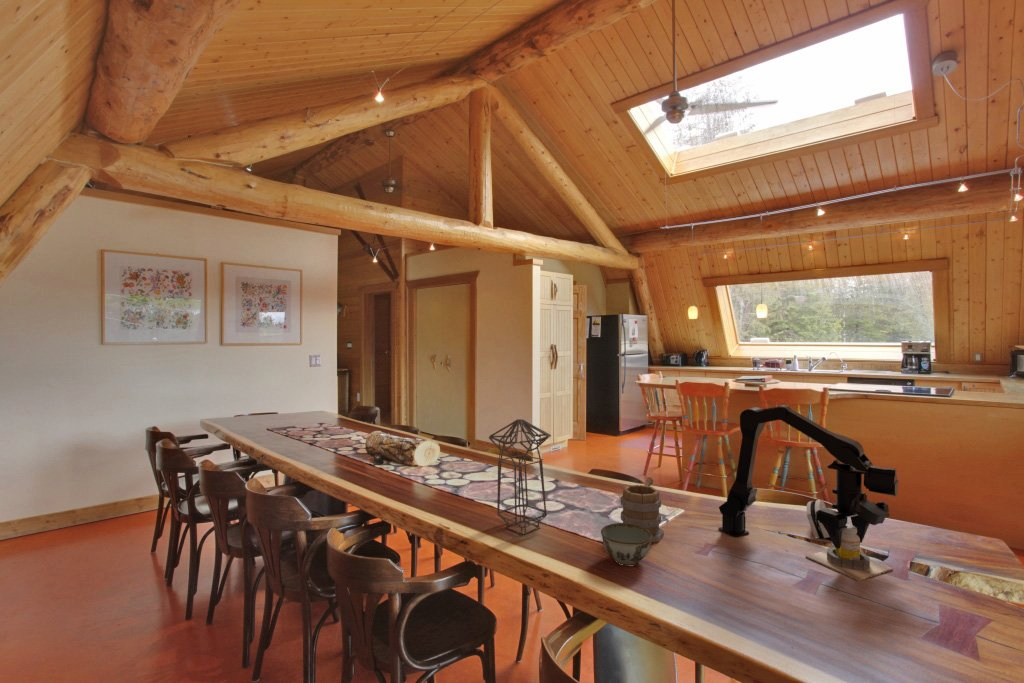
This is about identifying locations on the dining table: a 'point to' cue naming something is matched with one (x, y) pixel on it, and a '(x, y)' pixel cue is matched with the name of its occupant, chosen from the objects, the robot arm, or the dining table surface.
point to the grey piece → (811, 514)
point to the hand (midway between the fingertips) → (848, 545)
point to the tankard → (642, 508)
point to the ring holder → (850, 564)
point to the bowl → (626, 542)
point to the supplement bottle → (849, 544)
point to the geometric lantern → (541, 440)
